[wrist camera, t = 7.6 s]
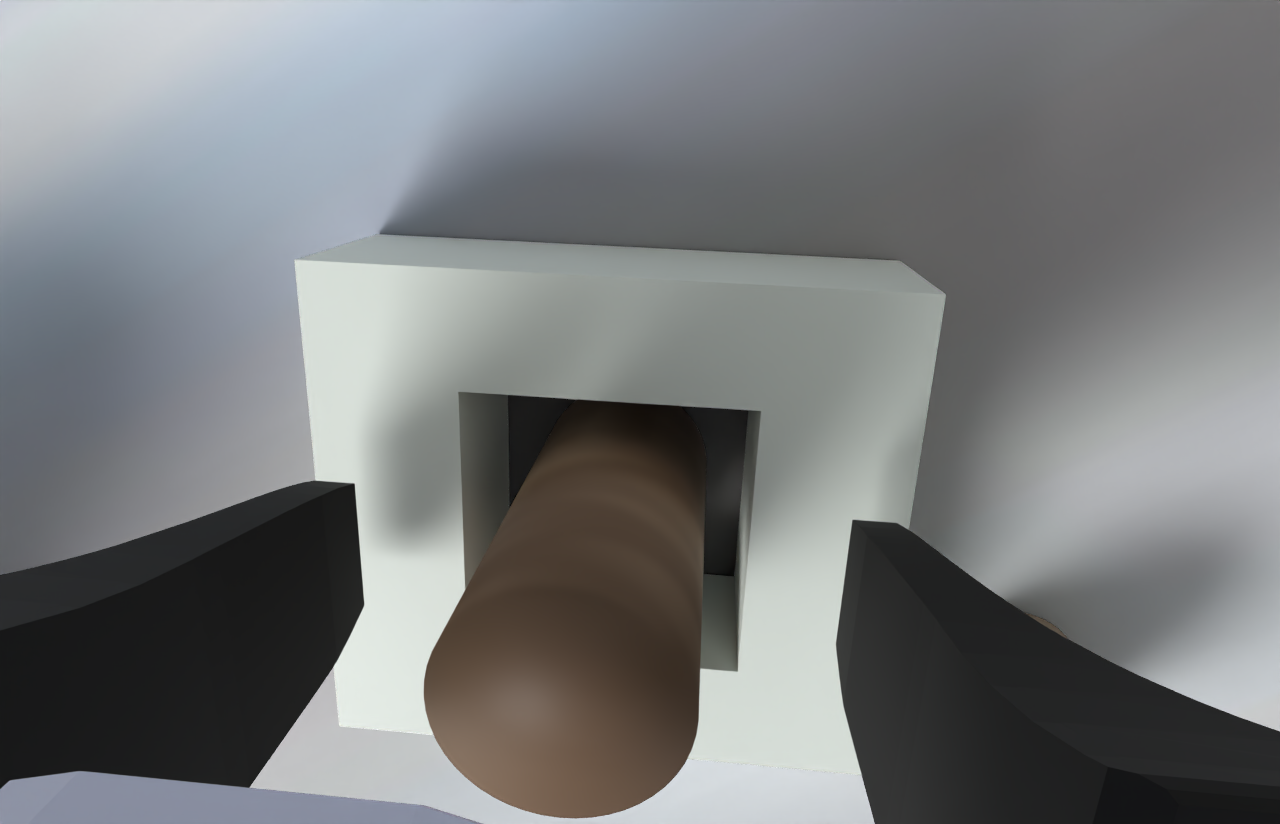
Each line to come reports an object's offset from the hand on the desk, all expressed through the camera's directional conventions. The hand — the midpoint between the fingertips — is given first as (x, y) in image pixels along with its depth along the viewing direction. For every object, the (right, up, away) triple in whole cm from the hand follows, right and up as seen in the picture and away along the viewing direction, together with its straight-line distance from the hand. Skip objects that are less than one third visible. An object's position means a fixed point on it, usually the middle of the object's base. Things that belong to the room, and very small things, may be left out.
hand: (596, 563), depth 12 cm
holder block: (0, +1, +4) cm, 4 cm away
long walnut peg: (0, +1, +4) cm, 4 cm away
